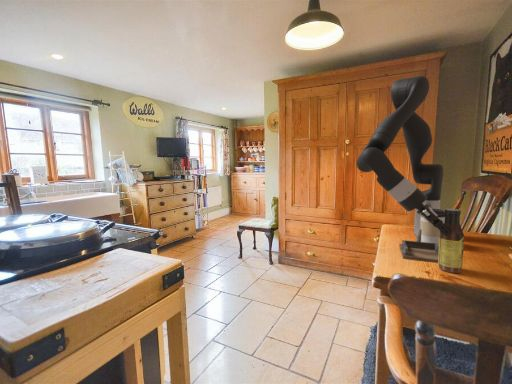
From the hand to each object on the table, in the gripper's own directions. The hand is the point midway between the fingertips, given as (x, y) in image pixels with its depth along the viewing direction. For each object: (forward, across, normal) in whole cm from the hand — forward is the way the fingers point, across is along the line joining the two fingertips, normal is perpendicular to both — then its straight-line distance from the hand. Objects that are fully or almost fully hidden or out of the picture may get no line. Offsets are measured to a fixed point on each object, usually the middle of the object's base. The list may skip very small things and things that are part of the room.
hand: (445, 230), depth 80 cm
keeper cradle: (+6, +11, +12) cm, 17 cm away
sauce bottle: (+10, 0, +8) cm, 13 cm away
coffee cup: (+10, +27, +8) cm, 30 cm away
